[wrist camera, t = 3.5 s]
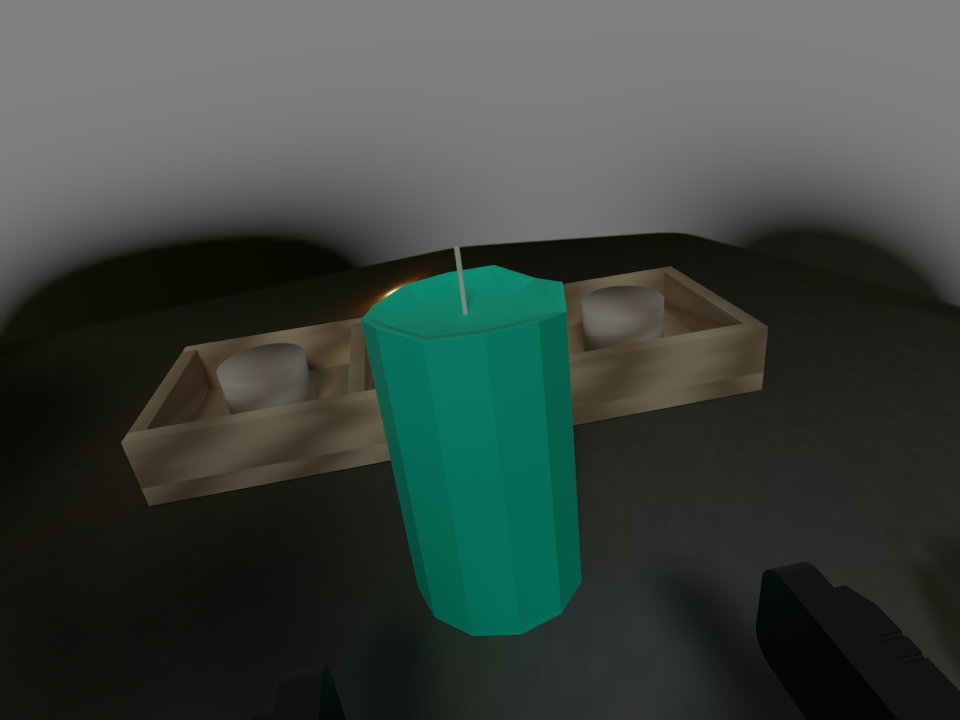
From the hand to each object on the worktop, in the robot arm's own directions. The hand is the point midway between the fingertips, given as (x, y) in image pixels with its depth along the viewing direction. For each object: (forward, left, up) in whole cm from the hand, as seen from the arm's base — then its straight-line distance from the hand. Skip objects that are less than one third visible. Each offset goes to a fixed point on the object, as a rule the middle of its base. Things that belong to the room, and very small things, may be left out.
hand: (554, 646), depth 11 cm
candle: (-6, +7, -7) cm, 12 cm away
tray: (-14, +18, -7) cm, 24 cm away
